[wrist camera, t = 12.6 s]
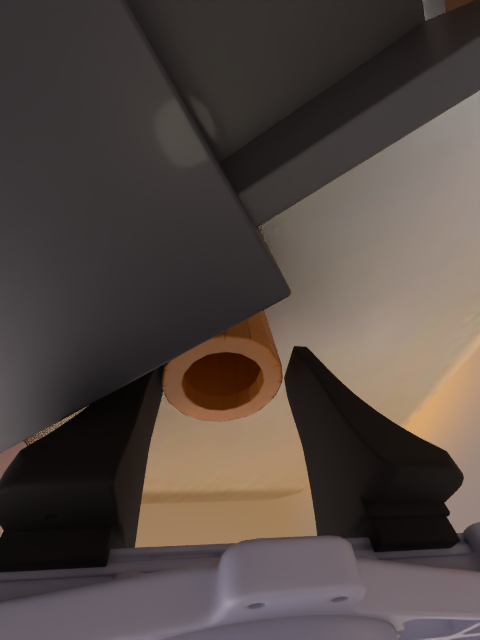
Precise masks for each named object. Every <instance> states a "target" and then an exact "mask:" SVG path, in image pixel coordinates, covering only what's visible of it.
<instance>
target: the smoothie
mask: <svg viewBox="0 0 480 640" xmlns="http://www.w3.org/2000/svg"><path fill="white" fill-rule="evenodd" d="M25 447H27V445H26V443H25V442H23V441H22V442H20V443H19V444H17V445H15V446H13V447H11V448H9V449H7V450H6V451H4V452H2V453H0V479H1V477H2V476H3V474H4V472H5V471H6V469H7V468H8V466H9V465H10V463H11V462H12V461H13V460H14V458H15V457H16V455H17V454H18V453H19V451H20V450H21V449H23V448H25ZM1 531H2V527H1V526H0V534H1Z"/></svg>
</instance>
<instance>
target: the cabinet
mask: <svg viewBox="0 0 480 640" xmlns="http://www.w3.org/2000/svg"><path fill="white" fill-rule="evenodd" d="M290 294H291V291H290V289H289V287H288V285H287V283H286V281H285V279H284V277H283V275H282V273H281V271H280V269H279V267H278V265H277V263H276V261H275V259H274V257H273V255H272V253H271V251H270V250H269V248H268V246H267V244H266V242H265V240H264V238H263V236H262V234H261V232H260V230H259V228H258V227H257V228H256V227H255V225H254V223H253V222H252V220H251V218H250V216H249V215H248V213H247V211H246V209H245V207H244V206H243V204H242V202H241V200H240V199H239V197H238V195H237V193H236V191H235V190H234V188H233V186H232V184H231V183H230V181H229V179H228V177H227V175H226V174H225V172H224V170H223V168H222V166H221V165H220V163H219V161H218V159H217V158H216V156H215V154H214V152H213V150H212V149H211V147H210V145H209V143H208V142H207V140H206V138H205V136H204V134H203V133H202V131H201V129H200V127H199V125H198V124H197V122H196V120H195V118H194V117H193V115H192V113H191V111H190V109H189V108H188V106H187V104H186V102H185V101H184V99H183V97H182V95H181V93H180V92H179V90H178V88H177V86H176V84H175V83H174V81H173V79H172V77H171V76H170V74H169V72H168V70H167V68H166V67H165V65H164V63H163V61H162V60H161V58H160V56H159V54H158V52H157V51H156V49H155V47H154V45H153V43H152V42H151V40H150V38H149V36H148V35H147V33H146V31H145V29H144V27H143V26H142V24H141V22H140V20H139V19H138V17H137V15H136V13H135V11H134V10H133V8H132V6H131V4H130V3H129V1H128V0H0V453H2V452H4V451H6V450H7V449H9V448H11V447H13V446H15V445H17V444H19V443H20V442H22V441H24V440H26V439H28V438H30V437H31V436H33V435H35V434H37V433H39V432H41V431H42V430H44V429H46V428H48V427H50V426H52V425H53V424H55V423H57V422H59V421H61V420H63V419H64V418H66V417H68V416H70V415H72V414H74V413H75V412H77V411H79V410H81V409H83V408H85V407H86V406H88V405H90V404H92V403H94V402H96V401H97V400H99V399H101V398H103V397H105V396H107V395H108V394H110V393H112V392H114V391H116V390H118V389H119V388H121V387H123V386H125V385H127V384H129V383H130V382H132V381H134V380H136V379H138V378H140V377H141V376H143V375H145V374H147V373H149V372H151V371H152V370H154V369H156V368H158V367H160V366H162V365H163V364H165V363H167V362H169V361H171V360H173V359H174V358H176V357H178V356H180V355H182V354H184V353H185V352H187V351H189V350H191V349H193V348H195V347H196V346H198V345H200V344H202V343H204V342H206V341H207V340H209V339H211V338H213V337H215V336H217V335H218V334H220V333H222V332H224V331H226V330H228V329H229V328H231V327H233V326H235V325H237V324H239V323H240V322H242V321H244V320H246V319H248V318H250V317H251V316H253V315H255V314H257V313H259V312H261V311H262V310H264V309H266V308H268V307H270V306H272V305H274V304H275V303H277V302H279V301H281V300H283V299H285V298H286V297H288V296H289V295H290Z"/></svg>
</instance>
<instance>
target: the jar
mask: <svg viewBox="0 0 480 640" xmlns="http://www.w3.org/2000/svg"><path fill="white" fill-rule="evenodd" d="M282 378H283V377H282V365H281V362H280V359H279V355H278V353H277V349H276V346H275V343H274V339H273V336H272V333H271V330H270V327H269V324H268V321H267V318H266V315H265V312H264V310H262V311H261V312H259V313H257V314H255V315H253V316H251V317H250V318H248V319H246V320H244V321H242V322H240V323H239V324H237V325H235V326H233V327H231V328H229V329H228V330H226V331H224V332H222V333H220V334H218V335H217V336H215V337H213V338H211V339H209V340H207V341H206V342H204V343H202V344H200V345H198V346H196V347H195V348H193V349H191V350H189V351H187V352H185V353H184V354H182V355H180V356H178V357H176V358H174V359H173V360H171V361H169V362H167V363H165V364H164V368H163V375H162V381H161V383H162V389H163V391H164V393H165V396H166V398H167V400H168V401H169V403H170V404H172V405H173V406H174V407H175V408H176V409H178V410H179V411H180V412H181V413H183V414H185V415H188V416H191V417H194V418H196V419H199V420H201V419H202V420H206V421H228V420H233V419H239V418H242V417H243V418H244V417H246V416H248V415H250V414H253V413H255V412H257V411H259V410H261V408H263V407H264V406H265V405H266V404H267V403H268V402H269V401H271V400H272V399H273V398H274V396H275V395H276V394H277V392H278V389H279V387H280V385H281V383H282Z"/></svg>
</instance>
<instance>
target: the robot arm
mask: <svg viewBox="0 0 480 640" xmlns="http://www.w3.org/2000/svg"><path fill="white" fill-rule="evenodd" d="M163 368H164V364H163V365H162V366H160V367H158V368H156V369H154V370H152V371H151V372H149V373H147V374H145V375H143V376H141V377H140V378H138V379H136V380H134V381H132V382H130V383H129V384H127V385H125V386H123V387H121V388H119V389H118V390H116V391H114V392H112V393H110V394H108V395H107V396H105V397H103V398H101V399H99V400H97V401H96V402H94V403H92V404H90V405H89V406H88V407H86V408H85V409H84V410H83V411H81V412H80V413H79V414H77V415H76V416H75V417H73V418H72V419H70V420H69V421H67V422H66V423H64V424H63V425H62V426H60V427H59V428H57V429H56V430H54V431H53V432H51V433H49V434H48V435H46V436H44V437H43V438H41V439H39V440H37V441H36V442H34V443H32V444H30V445H29V446H27V447H25V448H23V449H21V450H20V451H19V453H18V454H17V455H16V457H15V458H14V460H13V461H12V462H11V463H10V465H9V466H8V468H7V469H6V471H5V472H4V474H3V476H2V477H1V479H0V526H1V527H2V529H3V530H4V531H3V533H2V535H1V537H0V640H480V522H478V523H475V524H472V525H470V526H469V527H467V528H466V529H465V530H464V532H463V533H456V532H455V530H454V529H453V527H452V525H451V524H450V522H449V520H448V519H447V517H446V516H449V515H450V512H449V510H448V508H447V507H446V505H445V503H444V502H446V501H447V500H448V499H449V498H450V497H451V496H452V495H453V494H454V493H455V492H456V491H457V490H458V488H460V486H461V485H462V482H463V479H464V477H463V473H462V472H461V470H460V469H459V468H458V466H457V465H456V464H455V462H454V461H453V459H452V458H451V457H450V455H449V454H448V453H447V451H445V450H443V449H441V448H439V447H437V446H435V445H433V444H431V443H429V442H427V441H425V440H423V439H421V438H419V437H417V436H416V435H414V434H412V433H411V432H409V431H407V430H405V429H404V428H402V427H400V426H399V425H397V424H395V423H394V422H392V421H391V420H389V419H388V418H386V417H385V416H383V415H382V414H380V413H379V412H377V411H376V410H375V409H373V408H372V407H370V406H369V405H368V404H367V403H365V402H364V401H363V400H361V399H360V398H359V397H358V396H356V395H355V394H354V393H353V392H352V391H351V390H350V389H348V388H347V387H346V386H345V385H344V384H343V383H342V382H341V381H340V380H339V379H338V378H336V377H335V376H334V375H333V374H332V373H331V372H330V371H329V370H328V369H327V368H326V367H325V366H324V364H323V363H322V362H321V361H320V360H319V359H318V358H317V357H316V356H315V355H314V354H313V353H312V352H311V351H310V350H309V349H308V348H307V347H299V346H294V348H293V351H292V354H291V357H290V361H289V364H288V367H287V370H286V374H285V377H284V380H285V386H286V392H287V397H288V401H289V404H290V407H291V411H292V414H293V417H294V420H295V423H296V427H297V430H298V433H299V436H300V439H301V443H302V447H303V451H304V456H305V461H306V466H307V471H308V476H309V482H310V488H311V494H312V500H313V507H314V513H315V520H316V528H317V536H304V537H282V538H260V539H252V540H245V541H241V542H239V543H231V544H210V545H209V544H208V545H186V546H166V547H165V546H164V547H142V548H135V541H136V534H137V526H138V519H139V512H140V505H141V498H142V491H143V485H144V478H145V471H146V465H147V458H148V452H149V446H150V441H151V437H152V433H153V429H154V425H155V421H156V417H157V414H158V410H159V406H160V402H161V398H162V394H163V389H162V383H161V381H162V375H163Z"/></svg>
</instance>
